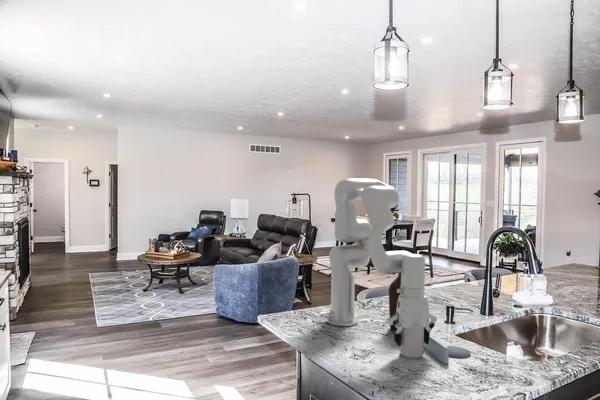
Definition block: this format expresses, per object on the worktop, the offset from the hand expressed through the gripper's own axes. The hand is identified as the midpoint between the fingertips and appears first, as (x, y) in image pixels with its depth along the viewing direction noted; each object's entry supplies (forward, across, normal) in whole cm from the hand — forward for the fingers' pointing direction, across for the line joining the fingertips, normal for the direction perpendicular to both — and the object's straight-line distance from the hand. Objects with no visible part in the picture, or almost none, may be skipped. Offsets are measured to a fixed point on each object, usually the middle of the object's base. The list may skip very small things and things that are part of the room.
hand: (411, 343), depth 138 cm
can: (+4, 0, 0) cm, 4 cm away
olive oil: (+4, +8, +24) cm, 25 cm away
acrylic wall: (+4, +8, 0) cm, 9 cm away
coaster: (+4, +16, 0) cm, 16 cm away
